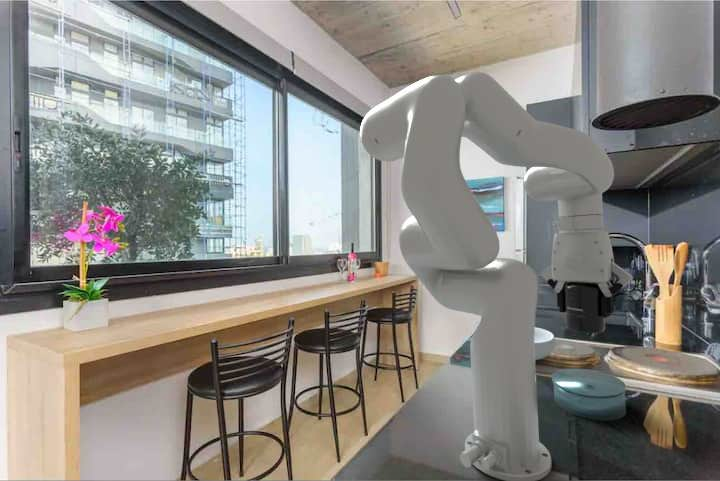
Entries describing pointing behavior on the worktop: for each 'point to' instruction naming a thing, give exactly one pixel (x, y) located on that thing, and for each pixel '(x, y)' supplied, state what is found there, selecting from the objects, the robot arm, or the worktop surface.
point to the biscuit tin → (590, 394)
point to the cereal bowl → (543, 343)
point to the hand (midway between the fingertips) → (584, 313)
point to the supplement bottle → (583, 307)
